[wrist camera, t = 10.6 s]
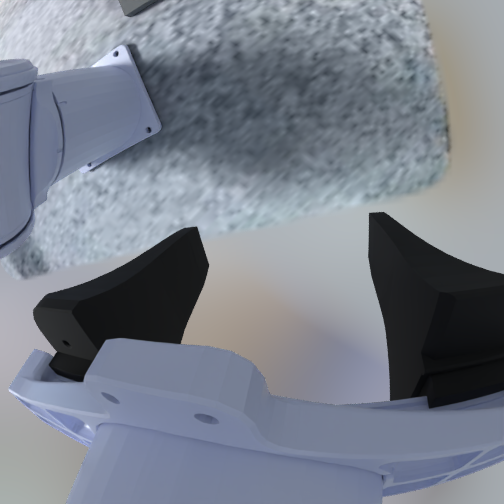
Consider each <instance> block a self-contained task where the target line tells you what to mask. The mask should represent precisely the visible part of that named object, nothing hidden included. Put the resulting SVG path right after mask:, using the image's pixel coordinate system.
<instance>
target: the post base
mask: <svg viewBox="0 0 504 504" xmlns="http://www.w3.org/2000/svg"><path fill="white" fill-rule="evenodd" d="M156 1H158V0H119V2H120V5H121V7H122V10H123V12H124V15H125V16H128V17H132V16H133V15H135V14H136V13H138V12H139V11H141V10H143V9H144V8H146V7H147V6H149V5H151V4H153V3H154V2H156Z"/></svg>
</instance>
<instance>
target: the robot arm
mask: <svg viewBox="0 0 504 504" xmlns="http://www.w3.org/2000/svg"><path fill="white" fill-rule="evenodd" d="M117 52H119V55H118V56H116V53H117ZM37 74H38V68H37V67H36V66H33V64H32V63H31V62H30V61H29V60H28V59H10V60H1V61H0V259H2V258H4V257H6V256H7V255H9V254H10V253H12V252H13V251H15V250H16V249H17V248H18V247H19V246H21V245H22V244H23V243H24V241H25V240H26V239H27V238H28V237H29V235H30V233H31V232H32V229H33V227H34V222H35V214H34V209H35V208H36V207H38V206H39V205H41V204H42V203H43V202H45V201H46V200H47V192H48V189H49V187H50V186H52V185H53V184H55V183H56V182H58V181H59V180H61V179H63V178H64V177H66V176H68V175H69V174H71V173H73V172H74V171H76V170H78V169H79V170H80V172H81V173H86V172H88V171H89V170H91V169H93V168H94V167H96V166H98V165H99V164H101V163H103V162H104V161H106V160H108V159H109V158H111V157H113V156H115V155H116V154H118V153H120V152H122V151H123V150H125V149H127V148H129V147H131V146H133V145H135V144H136V143H138V142H140V141H142V140H144V139H146V138H148V137H150V136H152V135H154V134H156V133H158V132H159V131H160V130H161V127H162V126H161V123H160V120H159V118H158V116H157V114H156V111H155V109H154V107H153V104H152V102H151V100H150V97H149V95H148V93H147V90H146V88H145V86H144V83H143V81H142V79H141V76H140V74H139V72H138V69H137V67H136V64H135V62H134V60H133V57H132V55H131V52H130V50H129V48H128V46H127V45H120V46H118V47H117V48H115V49H114V50H112V51H111V52H110V53H108V54H107V55H106V56H104V57H103V58H102V59H100V60H99V61H98V62H96V63H95V64H94V65H92V66H91V67H90V68H81V69H73V70H66V71H60V72H54V73H48V74H43V75H38V76H37ZM148 127H150V128H151V130H152V131H151V132H149V131H148ZM90 162H91V164H90ZM368 258H369V264H370V269H371V276H372V279H373V283H374V286H375V290H376V293H377V297H378V300H379V304H380V308H381V311H382V315H383V319H384V324H385V330H386V339H387V347H388V359H389V373H390V374H389V375H390V401H384V402H374V403H362V404H346V405H333V404H324V403H317V402H311V401H305V400H299V399H292V398H287V397H281V396H276V395H271V394H270V392H269V391H268V387H267V384H266V381H265V378H264V376H263V375H262V374H261V372H260V371H259V370H258V369H257V367H256V366H255V365H254V364H253V363H252V362H251V361H249V360H248V359H246V358H244V357H242V356H240V355H238V354H236V353H234V352H232V351H229V350H224V349H220V348H215V347H210V346H199V345H185V344H181V340H182V337H183V334H184V330H185V328H186V325H187V322H188V320H189V318H190V315H191V313H192V311H193V309H194V306H195V304H196V302H197V300H198V297H199V295H200V293H201V290H202V288H203V286H204V283H205V280H206V276H207V272H208V268H209V263H208V260H207V257H206V254H205V251H204V247H203V244H202V241H201V238H200V235H199V231H198V228H197V227H189V228H183V229H181V230H179V231H177V232H176V233H174V234H172V235H171V236H169V237H167V238H166V239H164V240H163V241H161V242H160V243H158V244H157V245H155V246H154V247H152V248H151V249H149V250H147V251H146V252H144V253H143V254H141V255H140V256H138V257H137V258H135V259H133V260H132V261H130V262H128V263H126V264H125V265H123V266H121V267H119V268H117V269H115V270H113V271H111V272H109V273H107V274H105V275H102V276H100V277H98V278H96V279H94V280H91V281H88V282H86V283H83V284H80V285H77V286H74V287H71V288H68V289H64V290H60V291H57V292H53V293H49V294H47V295H46V296H44V298H43V299H42V300H41V301H40V302H39V303H38V305H37V306H36V307H35V308H34V310H33V316H34V320H35V322H36V324H37V326H38V328H39V329H40V331H41V332H42V333H43V334H44V336H45V337H46V339H47V340H48V341H49V343H50V344H51V345H52V346H53V348H54V349H55V350H56V351H57V353H56V354H55V356H54V357H53V356H52V355H50V354H49V353H46V352H43V351H40V350H37V349H34V351H33V352H32V353H31V355H30V356H29V358H28V359H27V361H26V362H25V364H24V365H23V367H22V368H21V370H20V371H19V373H18V374H17V376H16V377H15V379H14V380H13V382H12V384H11V385H10V387H9V391H10V392H11V393H12V394H13V395H14V396H15V397H16V398H17V399H18V400H19V401H20V402H21V403H22V404H23V405H24V406H26V407H27V408H28V409H29V410H30V411H31V412H32V413H34V414H35V415H36V416H37V417H38V418H40V419H41V420H42V421H43V422H45V423H46V424H48V425H50V426H51V427H53V428H55V429H56V430H58V431H60V432H62V433H64V434H66V435H67V436H69V437H71V438H72V439H74V440H76V441H78V442H80V443H82V444H83V445H85V446H87V447H89V450H88V452H87V454H86V456H85V459H84V461H83V463H82V466H81V468H80V470H79V472H78V475H77V477H76V479H75V482H74V484H73V487H72V489H71V492H70V494H69V496H68V499H67V502H66V504H382V497H386V496H392V495H397V494H402V493H407V492H411V491H416V490H420V489H423V488H428V487H431V486H435V485H438V484H442V483H445V482H448V481H451V480H455V479H457V478H461V477H463V476H466V475H469V474H472V473H475V472H477V471H480V470H482V469H485V468H487V467H490V466H492V465H495V464H497V463H500V462H502V461H504V274H501V273H497V272H493V271H489V270H486V269H483V268H480V267H477V266H474V265H472V264H469V263H466V262H464V261H462V260H459V259H457V258H455V257H453V256H451V255H448V254H446V253H444V252H443V251H441V250H439V249H437V248H435V247H433V246H432V245H430V244H428V243H427V242H425V241H424V240H422V239H421V238H419V237H418V236H416V235H414V234H413V233H412V232H411V231H409V230H408V229H406V228H405V227H404V226H402V225H401V224H400V223H398V222H397V221H396V220H394V219H393V218H391V217H390V216H389V215H387V214H386V213H384V212H378V213H377V212H376V213H369V252H368Z"/></svg>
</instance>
